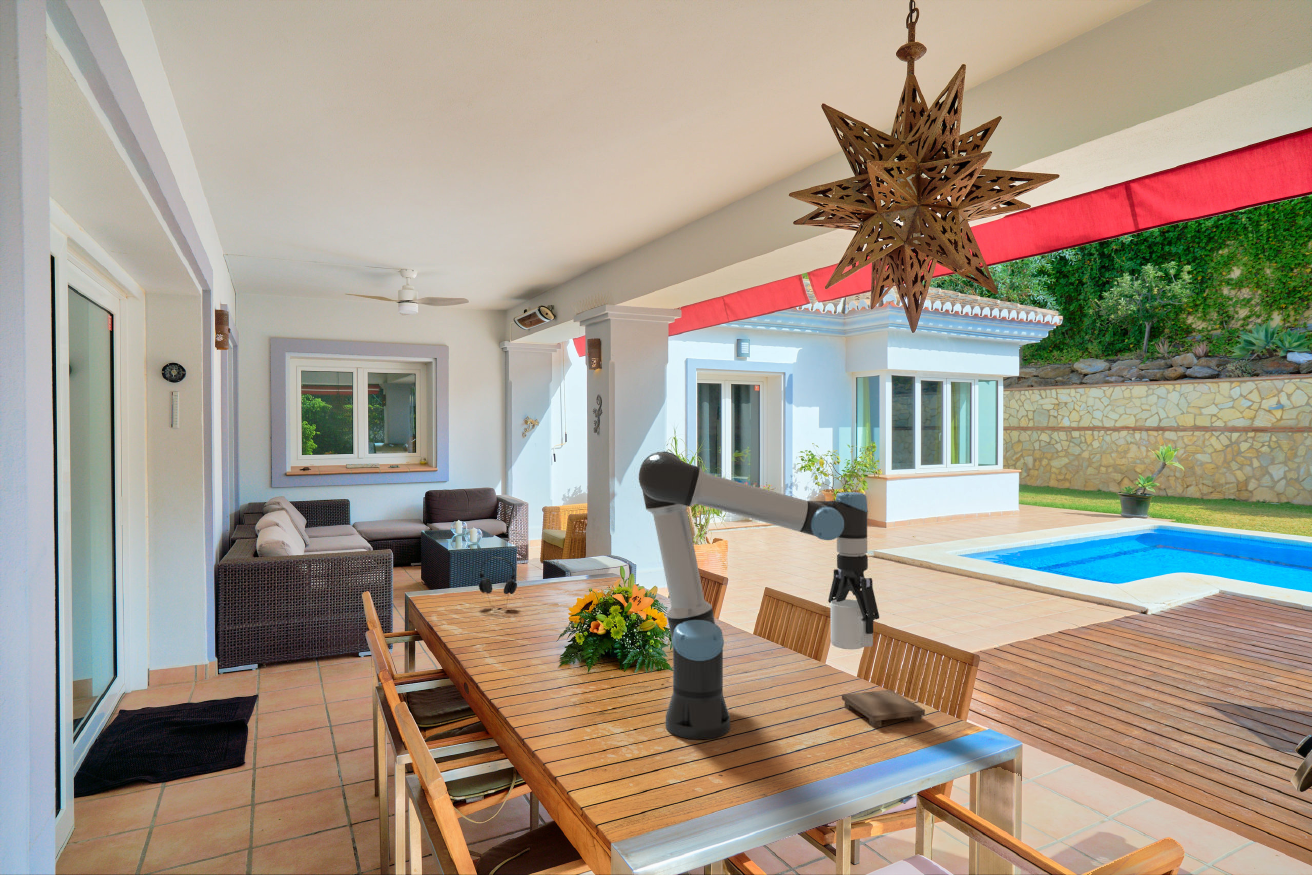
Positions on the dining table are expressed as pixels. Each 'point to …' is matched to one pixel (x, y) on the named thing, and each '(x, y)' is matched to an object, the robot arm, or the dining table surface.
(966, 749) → the dining table surface
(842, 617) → the mug
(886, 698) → the stand
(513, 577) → the headphones
